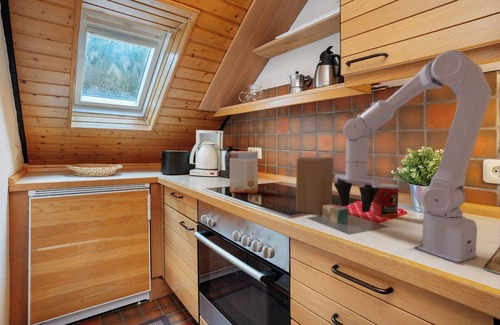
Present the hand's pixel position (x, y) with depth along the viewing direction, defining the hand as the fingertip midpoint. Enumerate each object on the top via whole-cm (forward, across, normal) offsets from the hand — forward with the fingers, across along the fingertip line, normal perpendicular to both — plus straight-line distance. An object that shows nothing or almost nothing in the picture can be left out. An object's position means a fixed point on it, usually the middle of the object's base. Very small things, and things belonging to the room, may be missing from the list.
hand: (354, 208), depth 78 cm
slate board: (+6, +4, -1) cm, 7 cm away
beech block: (+3, +4, 0) cm, 5 cm away
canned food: (+6, +5, -20) cm, 22 cm away
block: (+6, +20, -2) cm, 21 cm away
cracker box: (+6, +69, +3) cm, 70 cm away
